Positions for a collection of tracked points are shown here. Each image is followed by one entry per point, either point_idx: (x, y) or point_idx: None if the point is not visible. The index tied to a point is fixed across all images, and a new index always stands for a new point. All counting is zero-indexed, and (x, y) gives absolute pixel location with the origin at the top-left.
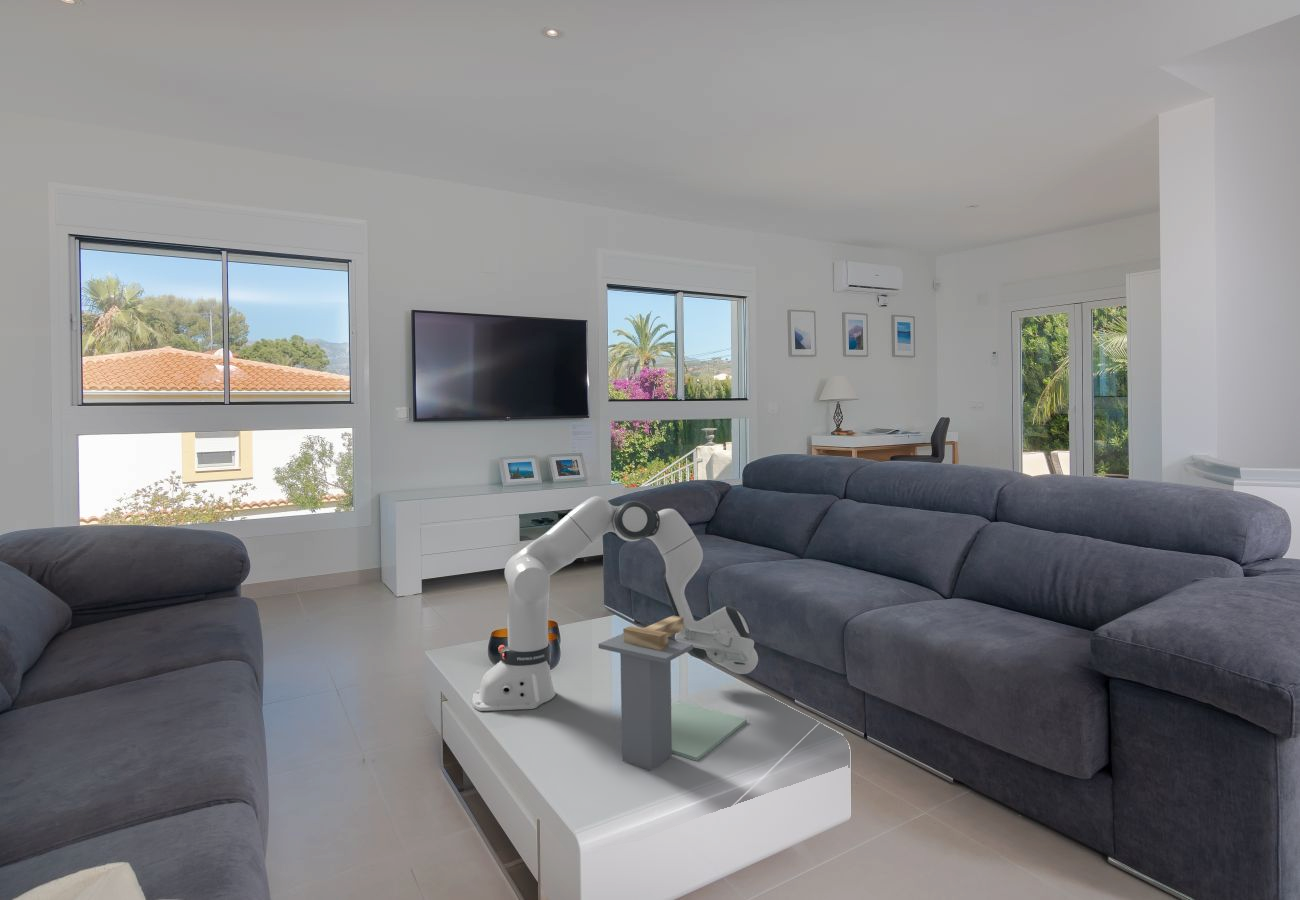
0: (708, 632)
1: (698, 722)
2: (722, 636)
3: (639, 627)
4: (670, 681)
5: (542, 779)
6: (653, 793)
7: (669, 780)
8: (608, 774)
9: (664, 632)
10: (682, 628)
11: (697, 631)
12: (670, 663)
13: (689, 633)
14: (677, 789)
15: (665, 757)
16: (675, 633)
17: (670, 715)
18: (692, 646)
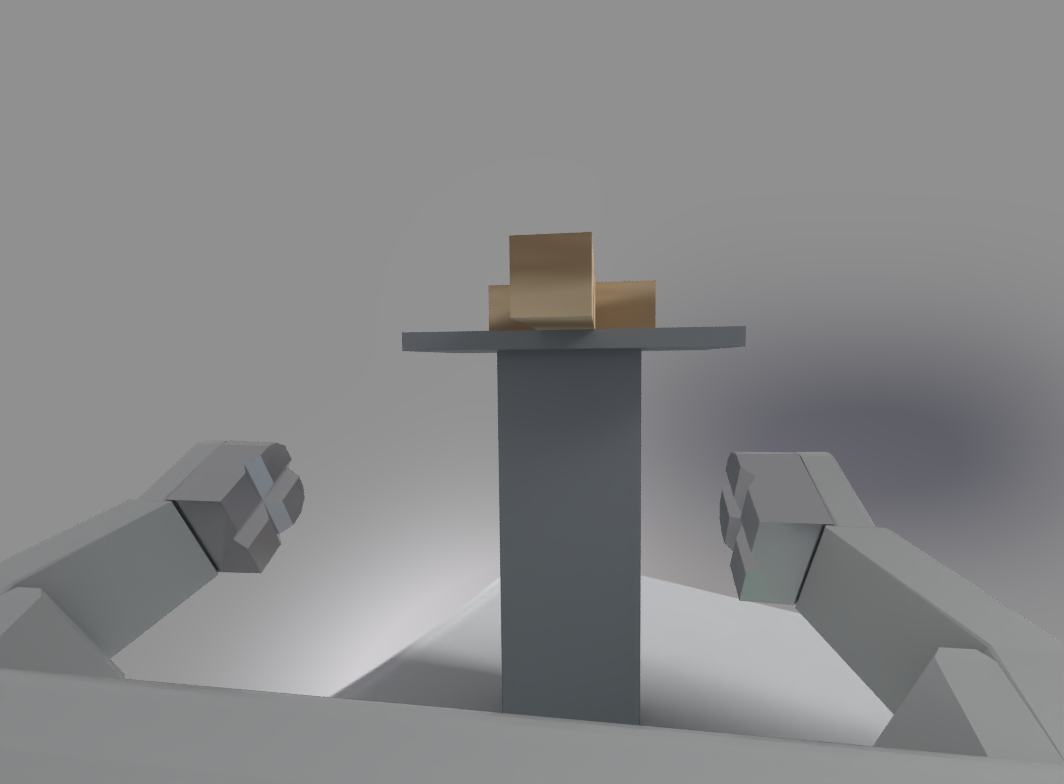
0: (410, 706)
1: None
2: (138, 512)
3: (613, 282)
4: (499, 486)
5: (717, 601)
6: (476, 631)
7: (459, 673)
8: None
9: (500, 285)
10: (512, 307)
11: (778, 749)
12: (498, 416)
13: (928, 738)
14: (427, 655)
15: None
16: (524, 323)
17: (502, 614)
18: (403, 340)
